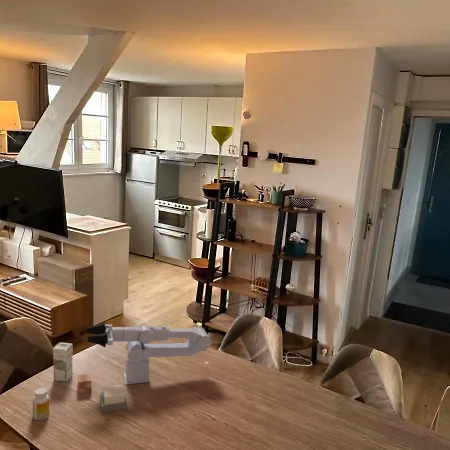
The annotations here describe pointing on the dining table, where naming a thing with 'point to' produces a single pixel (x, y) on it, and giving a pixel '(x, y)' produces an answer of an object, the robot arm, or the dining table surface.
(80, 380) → the terracotta cube
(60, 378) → the syrup box
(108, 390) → the top slab
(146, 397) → the dining table surface
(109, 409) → the bottom slab
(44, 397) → the supplement bottle
